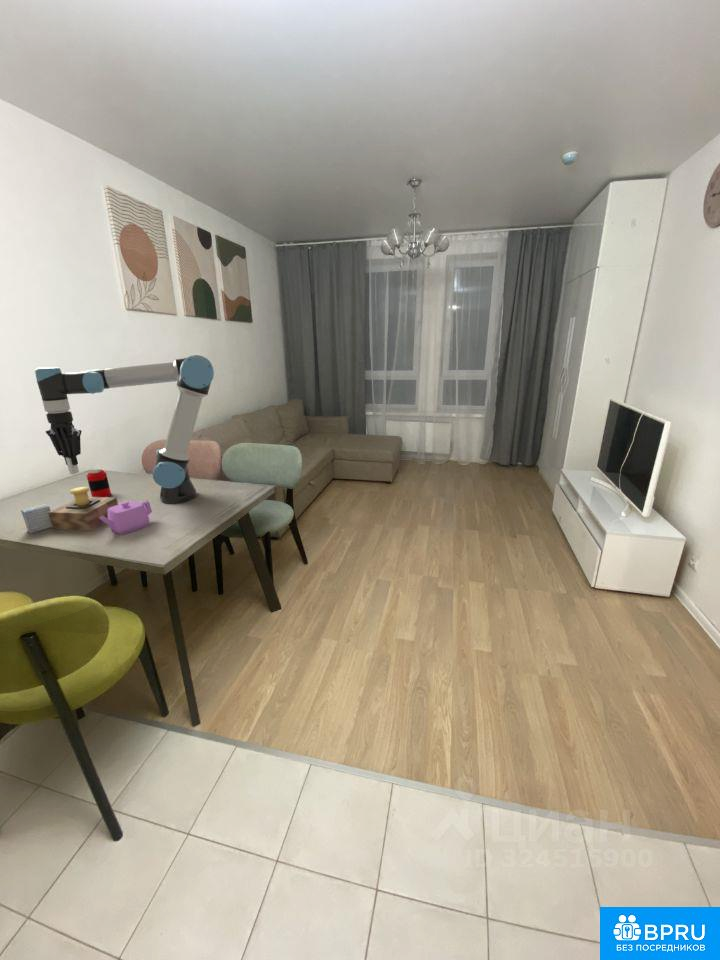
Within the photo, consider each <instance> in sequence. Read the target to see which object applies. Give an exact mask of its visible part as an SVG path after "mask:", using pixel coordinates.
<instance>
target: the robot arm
mask: <svg viewBox="0 0 720 960" xmlns="http://www.w3.org/2000/svg"><path fill="white" fill-rule="evenodd" d="M34 373H35V379H36V383H37V386H38V390H39V393H40V396H41V400H42V403H43V409H44V411H45V412H46V413H45V416H46V419H47V423H48V424H50V428H49V429H47V430H45V434H46V435H47V436H48V437H49V439H50V440H51V442H52V445H53V447H54V449H55V451H56V453H57V455H58V456H59V457H60V456H62V457H63V458H64V461H65V464H66V466H67V468H68V472H69V475H75V474H78V473H79V472H80V470H79V466H78V464H79V463H78V458H77V456H78V455H81V454H82V453H81V451H82V449H81V435H82V429H77V428H75V426H74V424H73V421H74V418H73V414H72V411H70V410H71V407H70V402H69V399H68V395H78V394H79V395H81V394H93V395H94V394H96V393H97V394H98V393H103V392H104V390H109V389H115V388H124V387H133V386H143V385H153V384H162V383H173V382H176V387H177V389H178V390H179V391H178V395H177V399H176V403H175V406H174V409H173V414H172V418H171V420H170V425H169V429H168V433H167V436H166V440H165V444H164V447H163V448H159V449H157V450H156V451H155V457H156V461H155V465H154V467H153V468H152V479H153V481H154V482H155V483H156V484H157V485H158V486H160V487H161V488H160V493H159V497H160V502H162V503H164V504H180V503H184V502H187V501H191V500H193V499H195V498H196V497H197V496H198V495H197V490H196V488H195V486H194V484H193V482H192V480H191V477H190V472H189V466H188V464H189V462H190V456H189V455H188V450H189V447H190V444H191V439H192V436H193V432H194V430H195V425H196V422H197V418H198V415H199V412H200V408H201V404H202V400H203V398H204V397H206V396H208V394H209V391H210V387H211V385H212V381H213V380H214V377H215V375H214V374H215V370H214V367H213V365H212V363H211V361H210V360H209V358H207V357H205V356H202V355H199V354H198V355H197V354H196V355H190V356H188V357H184V358H176V359H174V360H173V361H172V362H163V363H154V364H153V363H151V364H144V365H143V364H141V365H131V366H123V367H122V366H121V367H120V366H119V367H109V368H100V369H88V370H84V371H79V372H77V371H76V372H63V371H61V368H60V367H58V366H57V367H56V366H55V367H51V366H50V367H49V366H47V367H37V368H35V371H34Z"/></svg>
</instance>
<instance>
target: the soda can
mask: <svg viewBox="0 0 720 960" xmlns="http://www.w3.org/2000/svg"><path fill="white" fill-rule="evenodd" d="M86 478H87V479H86V480H87V483H88V488H89V491H90V495H91V497H110V496H111V495H112V492H111V488H110V484H109V480H108V475H107V472H106V471H105V470H103V469H93V470H90V471H88V472H87V474H86Z"/></svg>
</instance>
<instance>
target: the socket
mask: <svg viewBox="0 0 720 960" xmlns="http://www.w3.org/2000/svg"><path fill="white" fill-rule="evenodd" d="M88 497H89V501H90V503H89V504H87V505H85V506H77V505H76V501H75V499H73V500H71V501H69V502H66V503H64V504H63V505H61V506H58V507H56V508H54V509H52V510H50V512H48V514H49V517H50V520H51V524H52V527H51V528H52V530H66V531H67V530H68V531H70V530H71V531H92V530H94V529H96V528H98V527H99V526H101V525H103V524H106V523H105V522H104V521H102V520H101V519H100V518H99V517H101V516H104V517H106V518H107V519H108V508H110V507H113V506H116V505H119V503H118V500H117V499H118V498H117V497H110V496H108V497H92V496H88Z"/></svg>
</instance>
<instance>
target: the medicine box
mask: <svg viewBox="0 0 720 960" xmlns="http://www.w3.org/2000/svg"><path fill="white" fill-rule="evenodd" d="M50 511H51V508H50V506H49V505H48V504H46V503H43V504H38V505H34V506H32V507H28V508H24V509H21V515H22V518H23V521H24V523H25V526H26V529H27V531H28V532H29V533H30V534H33V533H38V532H40V531H44V530H46V529H49V528H53V527H52V524H51V520H50V517H49V514H48V512H50Z"/></svg>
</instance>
